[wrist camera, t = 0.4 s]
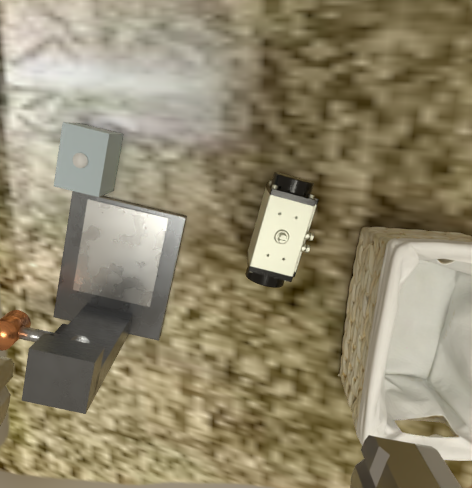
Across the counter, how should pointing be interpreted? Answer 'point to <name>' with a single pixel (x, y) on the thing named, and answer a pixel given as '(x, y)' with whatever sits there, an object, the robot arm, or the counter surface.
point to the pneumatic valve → (281, 230)
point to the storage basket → (410, 336)
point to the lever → (17, 329)
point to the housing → (87, 159)
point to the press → (103, 296)
